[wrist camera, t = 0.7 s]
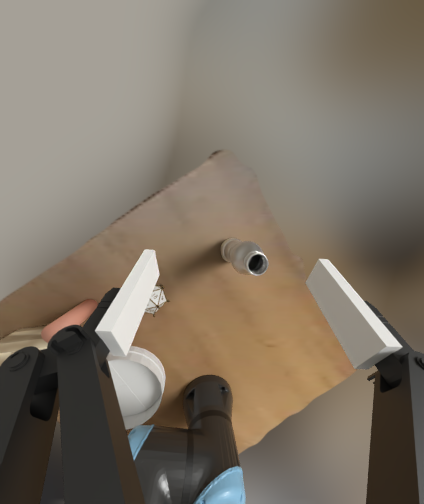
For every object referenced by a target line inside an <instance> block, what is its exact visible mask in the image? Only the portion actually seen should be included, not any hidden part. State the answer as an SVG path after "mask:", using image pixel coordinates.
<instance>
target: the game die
mask: <svg viewBox="0 0 424 504" xmlns="http://www.w3.org/2000/svg"><path fill="white" fill-rule="evenodd" d="M161 287H162V285H160V286H158V285H155V287H154V290H153V292H152V294H151V297H150V299H149V302H148V304H147V307H146V309H145V312H146V313H151V314H153V316H154V317H155V313H156V312H157V311H158V310H159V309H160V308H161V307H162V306H163V305H164V304H165V302H166V301H167V302H170V301H169V300H167V299H166V296H165V294H164V291H163V288H164V286H163V287H162V288H161Z"/></svg>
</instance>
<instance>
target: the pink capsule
mask: <svg viewBox="0 0 424 504" xmlns="http://www.w3.org/2000/svg"><path fill="white" fill-rule="evenodd" d="M97 306H98V304H97V302H96V301H95V300H93V299H87V300H85V301H83V302H82V303H80V304H79V305H77V306H76V307H74V308H73V309H71V310H70V311H68V312H67V313H65V314H64V315H62V316H61V317H59V318H58V319H56V320H55V321H53V322H52V323H50V324H49V325H47V326H46V327H44V328H43V330H42V332H41V336H42V339H43V340H44V341H45V342H47V343H48V342H49V341H50V339H51V338H52V336H53V335H54V334H56V333H57V332H58V331H59V330H61V329H63V328H64V327H67V326H70V325H80V324H81V323H83V322H84V321H85V320H86V319H87V318H88V317H90V316H91V314H92V313H93V312H94V310H95V309H96V308H97Z"/></svg>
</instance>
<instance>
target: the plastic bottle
mask: <svg viewBox="0 0 424 504" xmlns="http://www.w3.org/2000/svg"><path fill="white" fill-rule="evenodd" d="M221 255H222V257H223V259H224V260H225V261H227V262H229V263H232V266H233V267H234V269H235V270H236V271H237V272H238V273H240V274H243V275H251V274H253V275H256V276H258V275H262V274H263V273H265V271H266V270H267V268H268V259H267V258H266V256H265V255H264V254H263V251H262V249H261V248H260V247H259V245H257V244H256V243H254V242H251V241H244V242H242V241H240V240H239V239H237V238H229V239H227V240H225V241H224V242H223V244H222V246H221Z"/></svg>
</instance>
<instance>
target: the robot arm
mask: <svg viewBox="0 0 424 504" xmlns="http://www.w3.org/2000/svg"><path fill="white" fill-rule="evenodd" d="M158 277H159V270H158V265H157V260H156V255H155V250H144V252H143V253H142V255H141V257H140V258H139V260H138V261H137V263H136V265H135V266H134V268H133V270H132V271H131V273H130V274H129V276H128V278H127V279H126V281H125V283H124V284H123V286H122V287H121V288H112V289H111V290H110V291H109V292H107V293H106V294H105V296H104V297H103V299H102V300H101V302H100V303H99V304H98V306H97V308H96V309H95V310H94V312H93V313H92V314H91V316H90V317H89V319H88V320H87V322H86V323H85V325H84V326H83V328H82V327H81V326H79V325H70V326H67V327H64V328H63V329H61V330H59V331H58V332H57V333H56V334H54V335H53V336H52V338H51V339H50V341H49V342H48V346H47V349H43V350H39V349H38V348H37V347H33V346H29V347H24V348H22V349H20V350H18V351H16V352H14V353H13V354H12V355H10V356H9V357H8V358H7V359H6V360H5V361H4V362H3V363H2V364H1V366H0V504H40V501H41V496H42V491H43V485H44V481H45V475H46V470H47V465H48V461H49V456H50V451H51V446H52V440H53V436H54V430H55V426H56V421H57V416H58V411H59V408H60V427H61V445H62V464H63V482H64V500H65V504H245V490H244V484H243V473H242V469H241V466H240V462H239V456H238V451H237V446H236V441H235V437H234V432H233V427H232V422H231V417H232V403H233V398H232V393H231V388H230V386H229V384H228V383H227V382H226V381H225V380H224V379H223V378H221V377H219V376H215V375H206V376H202V377H199V378H197V379H195V380H194V381H192V382H191V383H190V384H189V385H188V387H187V388H186V390H185V392H184V397H183V409H184V413H185V417H186V421H187V425H188V429H182V428H172V427H162V426H154V424H152V425H151V426H149V425H138V426H136V427H134V428H133V429H132V430H131V432H130V433H129V435H128V436H127V432H126V428H125V425H124V421H123V417H122V413H121V409H120V406H119V402H118V398H117V394H116V391H115V387H114V383H113V379H112V375H111V372H110V368H109V364H108V360H107V359H106V358H107V356H108V354H109V352H111V354H112V355H113V356H127V353H128V351H129V349H130V346H131V344H132V341H133V339H134V336H135V334H136V331H137V329H138V326H139V324H140V321H141V319H142V317H143V314H144V312H145V309H146V307H147V304H148V302H149V299H150V297H151V294H152V292H153V290H154V287H155V285H156V282H157V280H158ZM306 285H307V286H308V288H309V290H310V292H311V293H312V295H313V297H314V299H315V300H316V302H317V304H318V306H319V307H320V309H321V311H322V313H323V314H324V316H325V318H326V320H327V321H328V323H329V325H330V327H331V328H332V330H333V332H334V334H335V335H336V337H337V339H338V341H339V342H340V344H341V346H342V348H343V349H344V351H345V353H346V355H347V356H348V358H349V360H350V362H351V363H352V365H353V367H354V369H369V368H371V367H372V366H374V365H375V366H376V367H377V369H378V371H377V372H375V373H373V374H372V375H370V376H368V378H367V380H369V381H370V380H372V379H374V378H375V382H373V384H375V385H374V400H373V413H372V427H371V442H370V455H369V471H368V484H367V498H366V504H424V354H422V353H420V352H416V351H414V350H413V349H412V348H411V347H410V346H409V345H408V344H407V343H406V342H405V340H404V339H403V338H402V337H401V336H400V335H399V334H398V332H397V331H396V330H395V329H394V328H393V327H392V326H391V325H390V324H389V323H388V321H387V320H386V319H385V318H384V317H383V315H382V314H381V313H380V312H379V311H378V310H377V309H376V308H375V307H374V306H372V305H371V304H370V303H369V302H367V301H363V300H362V299H361V297H359V295H358V294H357V293H356V292H355V290H354V289H353V288H352V287H351V286H350V284H348V282H347V281H346V280H345V279H344V278H343V276H342V275H341V274H340V273H339V272H338V270H337V269H336V268H335V267H334V266H333V265H332V263H331V262H330V261H329V260H328V259H318V261H317V263H316V265H315V267H314V268H313V270H312V272H311V274H310V276H309V278H308V279H307V281H306Z"/></svg>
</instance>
